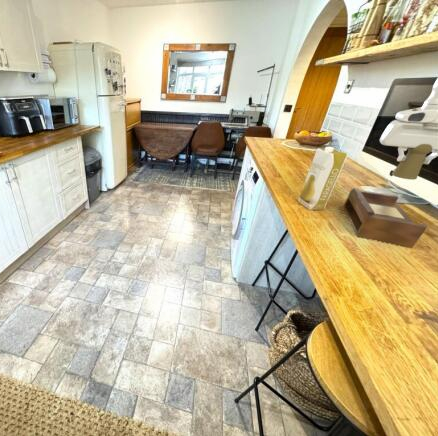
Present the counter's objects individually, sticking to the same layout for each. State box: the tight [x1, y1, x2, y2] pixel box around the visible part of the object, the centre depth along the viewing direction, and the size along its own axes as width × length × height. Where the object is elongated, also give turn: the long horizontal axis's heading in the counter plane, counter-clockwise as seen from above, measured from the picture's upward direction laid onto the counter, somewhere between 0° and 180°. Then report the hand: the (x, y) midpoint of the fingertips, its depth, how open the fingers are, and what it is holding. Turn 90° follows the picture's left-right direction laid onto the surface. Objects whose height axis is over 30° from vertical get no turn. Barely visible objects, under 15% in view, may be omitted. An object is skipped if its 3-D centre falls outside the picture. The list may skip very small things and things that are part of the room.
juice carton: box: [297, 146, 349, 211], centre depth 93 cm, size 9×8×24 cm
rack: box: [342, 187, 428, 249], centre depth 84 cm, size 14×24×9 cm, turn 154°
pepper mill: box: [391, 144, 432, 181], centre depth 75 cm, size 6×6×11 cm
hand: (411, 162), depth 76 cm, fingers closed on pepper mill, 4 cm apart
